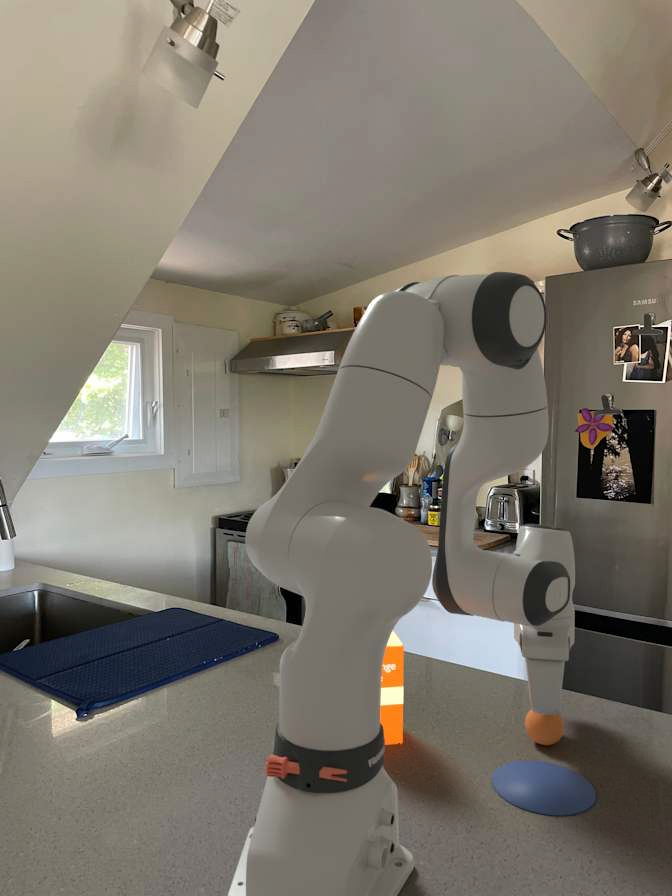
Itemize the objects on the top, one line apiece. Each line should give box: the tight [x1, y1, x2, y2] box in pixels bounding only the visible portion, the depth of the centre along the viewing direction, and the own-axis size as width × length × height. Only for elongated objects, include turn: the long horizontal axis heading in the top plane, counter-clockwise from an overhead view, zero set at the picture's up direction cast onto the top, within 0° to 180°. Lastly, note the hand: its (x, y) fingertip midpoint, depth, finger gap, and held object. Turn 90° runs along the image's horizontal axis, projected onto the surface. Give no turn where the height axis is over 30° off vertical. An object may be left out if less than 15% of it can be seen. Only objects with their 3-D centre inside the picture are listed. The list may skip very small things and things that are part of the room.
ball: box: [524, 709, 565, 746], centre depth 103 cm, size 6×6×6 cm
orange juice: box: [380, 630, 405, 746], centre depth 106 cm, size 8×9×20 cm
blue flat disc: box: [491, 760, 597, 817], centre depth 91 cm, size 13×13×1 cm
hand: (542, 717), depth 107 cm, fingers closed
